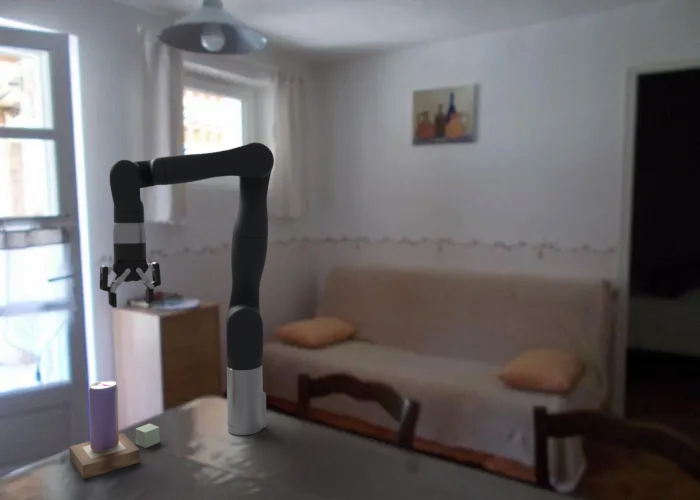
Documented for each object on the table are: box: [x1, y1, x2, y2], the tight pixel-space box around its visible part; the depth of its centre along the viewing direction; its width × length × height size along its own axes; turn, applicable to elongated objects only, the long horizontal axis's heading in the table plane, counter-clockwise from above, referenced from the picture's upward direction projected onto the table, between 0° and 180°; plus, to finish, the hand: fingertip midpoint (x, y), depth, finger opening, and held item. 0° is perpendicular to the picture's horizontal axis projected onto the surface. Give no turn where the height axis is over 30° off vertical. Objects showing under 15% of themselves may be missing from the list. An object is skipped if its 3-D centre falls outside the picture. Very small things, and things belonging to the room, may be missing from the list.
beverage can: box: [88, 380, 120, 452], centre depth 123 cm, size 6×6×15 cm
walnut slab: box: [68, 432, 141, 480], centre depth 123 cm, size 12×12×3 cm
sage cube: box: [134, 423, 161, 449], centre depth 132 cm, size 4×4×4 cm
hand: (131, 305), depth 134 cm, fingers open, 8 cm apart
